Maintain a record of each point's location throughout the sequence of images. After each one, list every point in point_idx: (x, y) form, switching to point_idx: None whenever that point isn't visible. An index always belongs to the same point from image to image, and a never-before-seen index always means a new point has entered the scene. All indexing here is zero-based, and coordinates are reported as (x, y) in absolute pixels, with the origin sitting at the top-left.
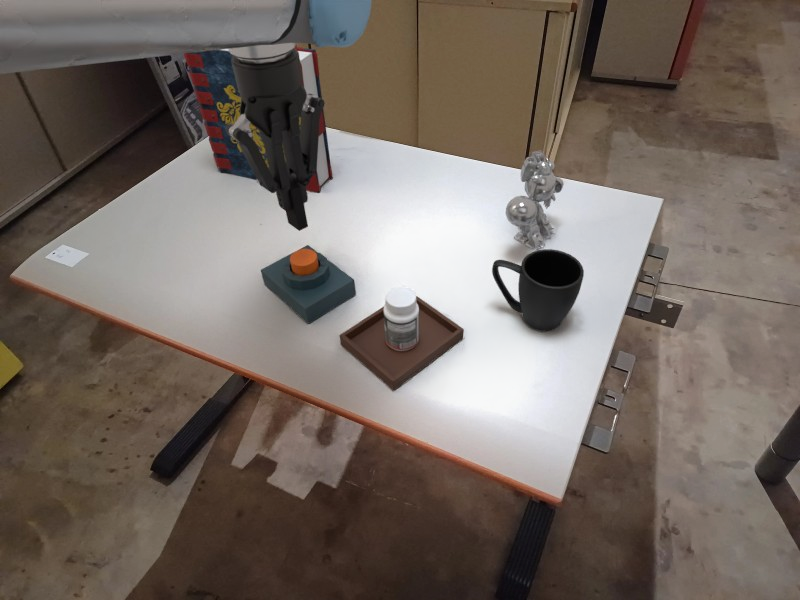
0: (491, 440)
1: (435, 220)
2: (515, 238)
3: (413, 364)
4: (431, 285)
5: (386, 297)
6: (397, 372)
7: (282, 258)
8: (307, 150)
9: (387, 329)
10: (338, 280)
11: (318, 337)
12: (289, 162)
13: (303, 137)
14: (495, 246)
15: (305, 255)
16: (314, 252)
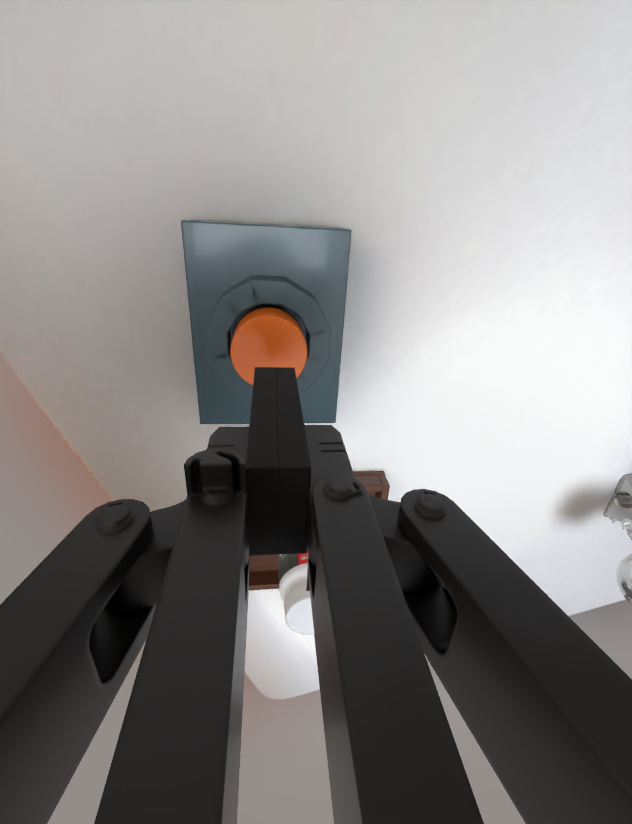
0: (269, 657)
1: (624, 339)
2: (621, 481)
3: (271, 587)
4: (436, 470)
5: (292, 608)
6: (253, 563)
7: (259, 227)
8: (469, 699)
9: (278, 560)
10: (309, 403)
11: (203, 439)
12: (321, 613)
13: (561, 768)
14: (587, 471)
15: (277, 353)
16: (304, 359)
